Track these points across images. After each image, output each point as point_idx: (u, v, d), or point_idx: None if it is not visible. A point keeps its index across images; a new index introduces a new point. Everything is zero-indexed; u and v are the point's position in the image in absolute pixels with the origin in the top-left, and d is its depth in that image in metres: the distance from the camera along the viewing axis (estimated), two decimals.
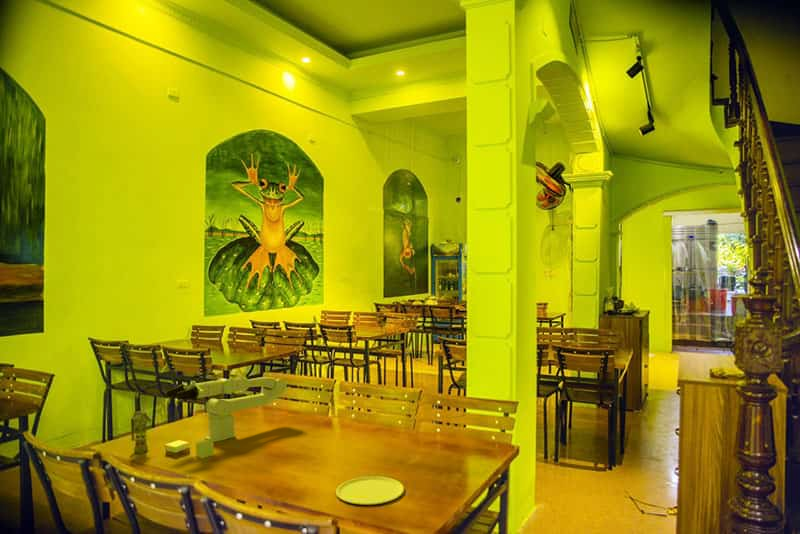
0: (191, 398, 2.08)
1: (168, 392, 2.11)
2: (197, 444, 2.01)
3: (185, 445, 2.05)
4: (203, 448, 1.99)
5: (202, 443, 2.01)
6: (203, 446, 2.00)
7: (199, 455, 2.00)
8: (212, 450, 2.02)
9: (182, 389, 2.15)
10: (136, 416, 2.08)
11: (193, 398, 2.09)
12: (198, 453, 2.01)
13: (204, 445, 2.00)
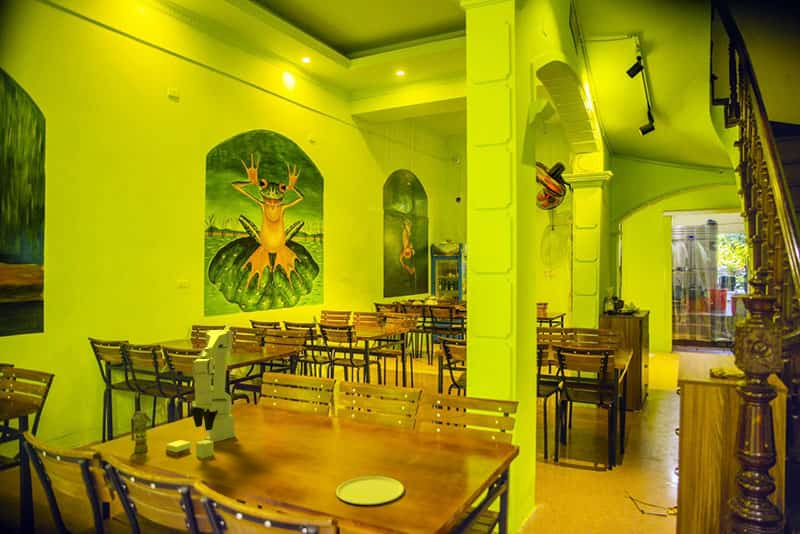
0: (214, 416, 2.00)
1: (198, 425, 2.04)
2: (197, 444, 2.01)
3: (186, 445, 2.06)
4: (203, 448, 1.99)
5: (202, 443, 2.01)
6: (203, 446, 1.99)
7: (199, 455, 2.00)
8: (212, 450, 2.02)
9: (196, 410, 2.04)
10: (136, 416, 2.08)
11: (215, 414, 2.00)
12: (198, 453, 2.01)
13: (204, 445, 2.00)
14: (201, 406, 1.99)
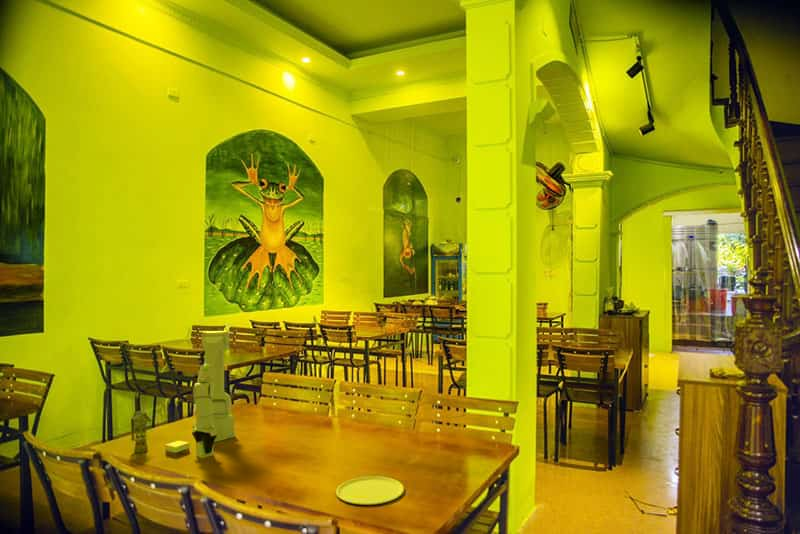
0: (214, 439, 2.01)
1: None
2: (197, 444, 2.01)
3: (185, 445, 2.06)
4: (203, 448, 1.99)
5: (202, 443, 2.01)
6: (203, 446, 1.99)
7: (199, 455, 2.00)
8: (212, 450, 2.02)
9: (199, 434, 2.03)
10: (136, 416, 2.08)
11: (214, 437, 2.00)
12: (198, 453, 2.01)
13: None
14: (202, 430, 1.99)
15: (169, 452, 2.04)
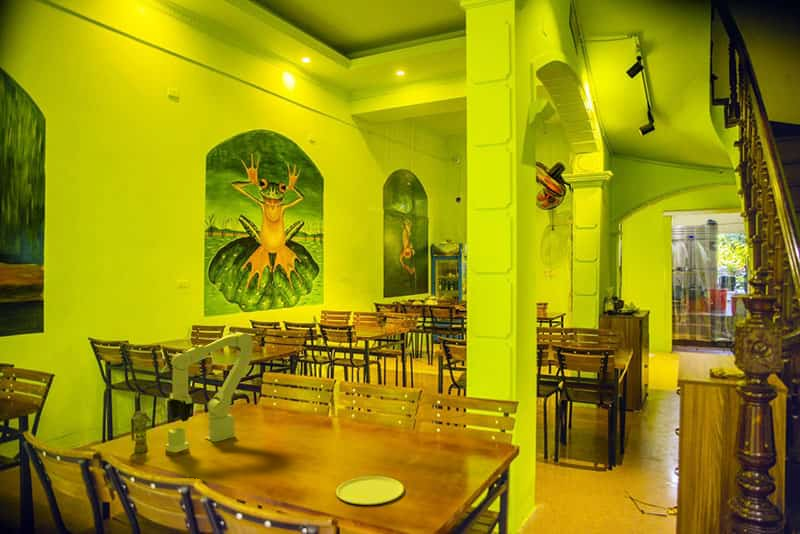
0: (190, 407, 2.12)
1: (175, 416, 2.16)
2: (169, 432, 2.05)
3: (186, 445, 2.06)
4: (174, 436, 2.03)
5: (173, 431, 2.04)
6: (174, 435, 2.03)
7: (170, 443, 2.04)
8: (183, 439, 2.05)
9: (174, 402, 2.16)
10: (136, 416, 2.08)
11: (191, 406, 2.12)
12: (169, 441, 2.04)
13: (175, 434, 2.03)
14: (178, 398, 2.11)
15: (169, 452, 2.04)
